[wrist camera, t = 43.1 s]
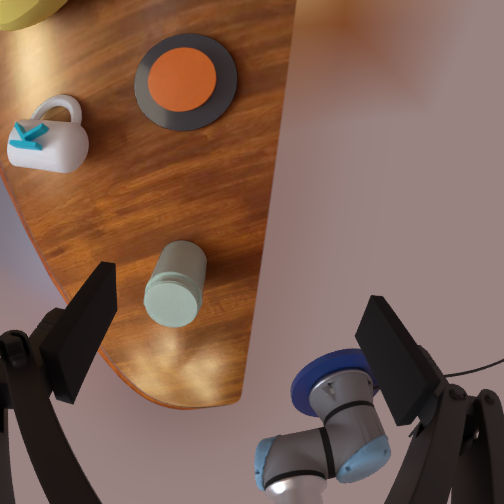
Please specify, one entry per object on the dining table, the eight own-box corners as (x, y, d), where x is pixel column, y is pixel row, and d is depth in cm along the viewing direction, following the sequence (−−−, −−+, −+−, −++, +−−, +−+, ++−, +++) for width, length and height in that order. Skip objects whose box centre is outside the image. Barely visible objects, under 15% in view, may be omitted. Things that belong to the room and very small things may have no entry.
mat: (245, 41, 36) (245, 39, 35) (227, 136, 42) (227, 137, 41) (145, 33, 34) (143, 31, 33) (130, 126, 40) (127, 126, 39)
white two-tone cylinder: (62, 166, 32) (-6, 157, 30) (87, 180, 41) (25, 170, 39) (92, 79, 32) (23, 78, 30) (109, 106, 41) (47, 101, 39)
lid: (160, 47, 35) (156, 43, 33) (223, 56, 36) (223, 53, 34) (146, 106, 38) (141, 106, 36) (208, 116, 39) (207, 117, 37)
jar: (209, 243, 48) (203, 284, 37) (204, 286, 51) (198, 333, 40) (160, 237, 47) (141, 275, 36) (158, 280, 50) (141, 325, 40)
